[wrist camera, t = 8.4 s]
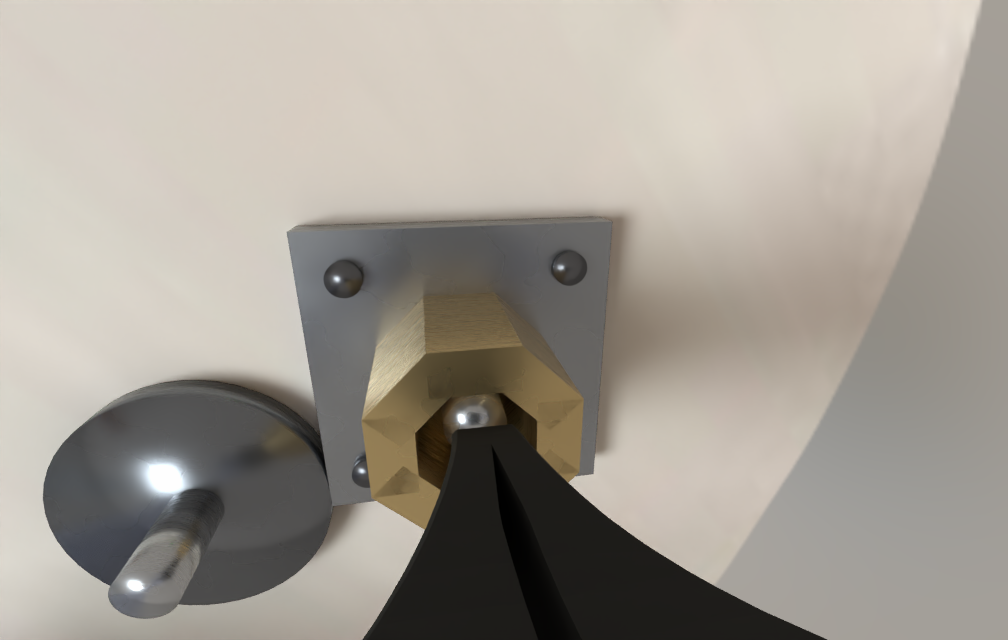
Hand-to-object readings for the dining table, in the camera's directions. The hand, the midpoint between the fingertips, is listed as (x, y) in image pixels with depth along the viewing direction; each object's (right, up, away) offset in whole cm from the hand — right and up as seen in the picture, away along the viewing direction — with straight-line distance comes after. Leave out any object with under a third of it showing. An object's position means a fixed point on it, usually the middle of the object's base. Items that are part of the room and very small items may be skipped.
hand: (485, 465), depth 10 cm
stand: (-9, -2, +5) cm, 11 cm away
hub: (-1, +2, +5) cm, 6 cm away
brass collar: (-1, +2, +4) cm, 5 cm away
